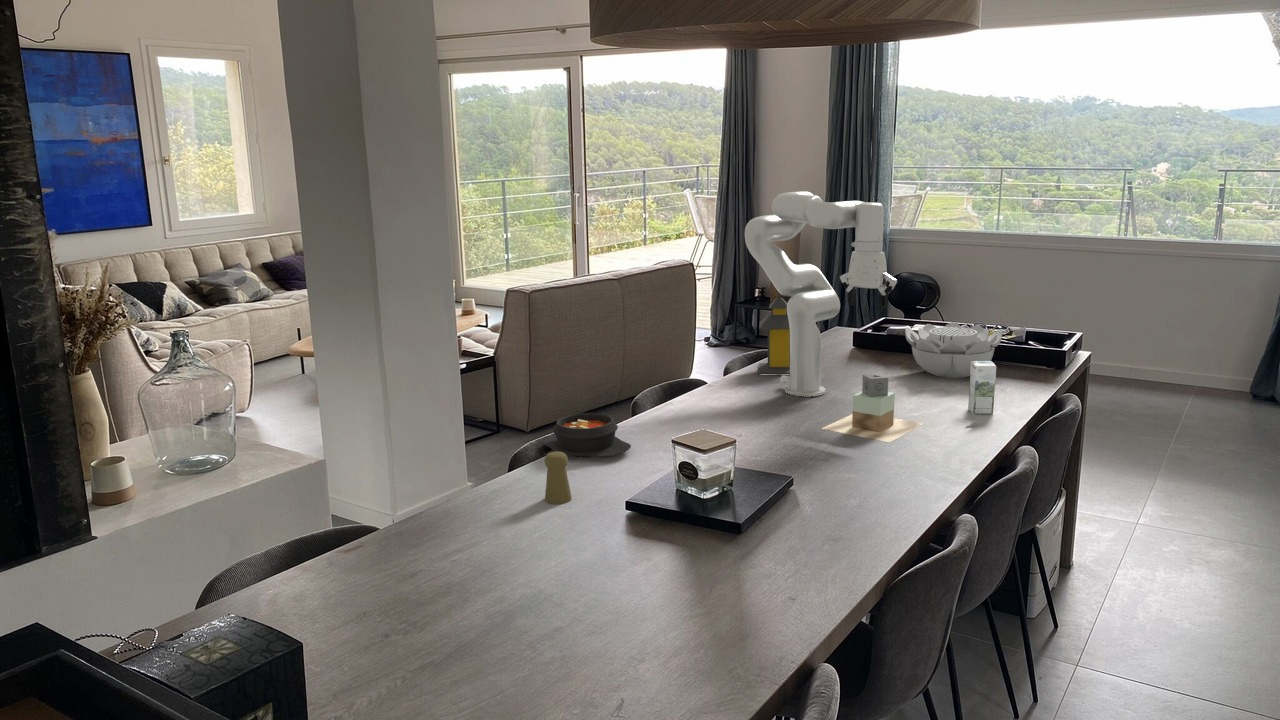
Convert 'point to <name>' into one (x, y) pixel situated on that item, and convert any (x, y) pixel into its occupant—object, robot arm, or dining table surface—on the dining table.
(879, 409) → the sage block
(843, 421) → the oak board
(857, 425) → the walnut block
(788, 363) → the lantern
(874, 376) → the dice cube
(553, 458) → the olive peg figure
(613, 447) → the casserole
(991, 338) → the decorative bowl
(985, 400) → the syrup box
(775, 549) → the dining table surface
